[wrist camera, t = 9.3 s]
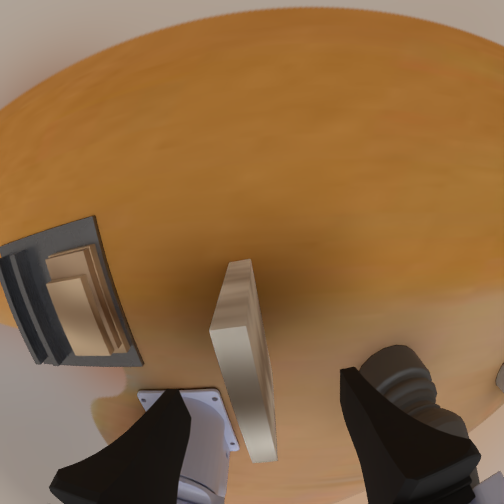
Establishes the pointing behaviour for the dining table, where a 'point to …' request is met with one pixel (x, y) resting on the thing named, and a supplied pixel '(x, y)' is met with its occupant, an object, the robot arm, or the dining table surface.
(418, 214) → the dining table surface
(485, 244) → the dining table surface
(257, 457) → the beige flat block
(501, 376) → the bottle
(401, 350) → the candle holder
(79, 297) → the offcut stack
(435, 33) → the dining table surface
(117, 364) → the rack
